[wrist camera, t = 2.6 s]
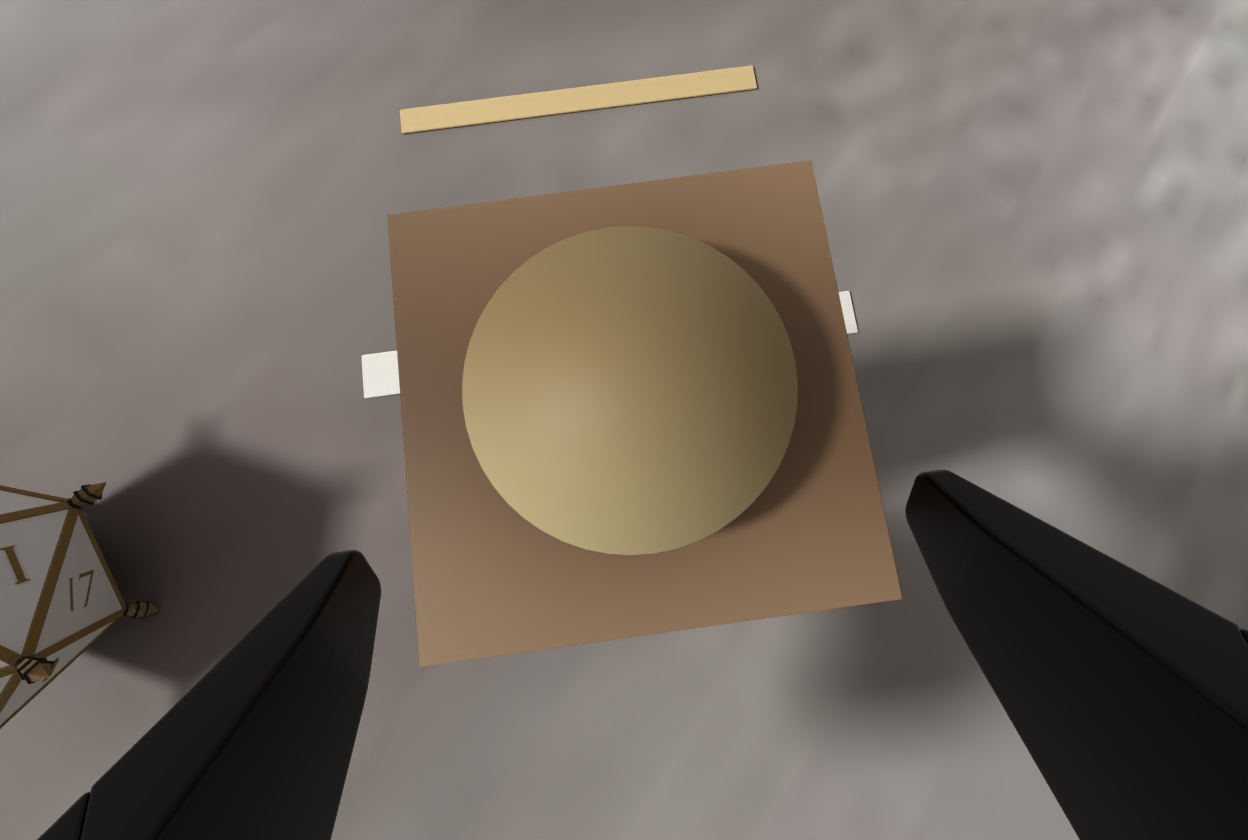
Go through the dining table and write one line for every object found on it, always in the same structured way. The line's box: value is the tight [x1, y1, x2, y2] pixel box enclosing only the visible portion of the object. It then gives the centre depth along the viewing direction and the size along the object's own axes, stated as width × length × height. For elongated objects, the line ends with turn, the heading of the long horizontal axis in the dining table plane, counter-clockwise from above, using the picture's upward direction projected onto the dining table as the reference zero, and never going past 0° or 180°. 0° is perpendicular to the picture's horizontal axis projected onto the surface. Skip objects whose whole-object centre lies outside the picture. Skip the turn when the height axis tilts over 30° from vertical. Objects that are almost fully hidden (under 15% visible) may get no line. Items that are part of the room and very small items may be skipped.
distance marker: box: [400, 65, 757, 134], centre depth 20 cm, size 14×1×1 cm, turn 98°
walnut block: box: [387, 160, 902, 667], centre depth 11 cm, size 5×5×14 cm
